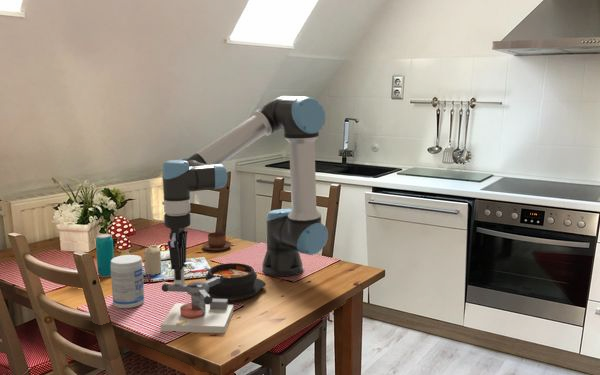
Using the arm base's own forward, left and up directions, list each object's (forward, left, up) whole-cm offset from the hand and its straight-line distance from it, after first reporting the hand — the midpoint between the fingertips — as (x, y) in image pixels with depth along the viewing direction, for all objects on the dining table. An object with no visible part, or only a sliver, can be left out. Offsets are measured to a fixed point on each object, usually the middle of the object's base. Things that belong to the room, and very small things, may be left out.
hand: (179, 288), depth 163 cm
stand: (-7, +6, -8) cm, 12 cm away
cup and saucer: (+2, -65, -8) cm, 66 cm away
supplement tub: (+18, -5, -8) cm, 20 cm away
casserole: (-13, -15, -8) cm, 22 cm away
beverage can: (+35, -29, -8) cm, 46 cm away
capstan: (-5, +6, -5) cm, 9 cm away
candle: (+19, -33, -8) cm, 39 cm away
